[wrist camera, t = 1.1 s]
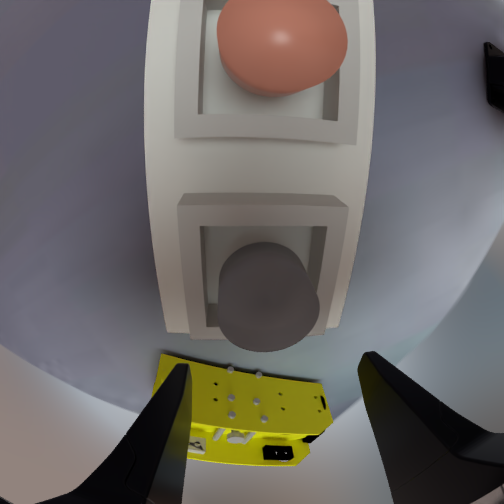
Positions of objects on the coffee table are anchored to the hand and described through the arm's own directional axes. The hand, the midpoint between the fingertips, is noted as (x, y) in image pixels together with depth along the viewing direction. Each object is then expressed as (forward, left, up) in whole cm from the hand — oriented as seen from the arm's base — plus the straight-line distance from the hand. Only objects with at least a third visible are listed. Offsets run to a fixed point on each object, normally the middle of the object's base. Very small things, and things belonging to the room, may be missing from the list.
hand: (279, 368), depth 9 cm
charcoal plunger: (0, 0, -6) cm, 6 cm away
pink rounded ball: (0, -11, -6) cm, 12 cm away
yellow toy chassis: (+1, +15, -11) cm, 19 cm away
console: (0, -5, -11) cm, 12 cm away
